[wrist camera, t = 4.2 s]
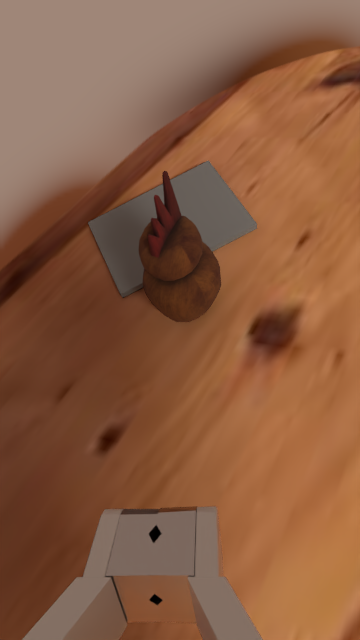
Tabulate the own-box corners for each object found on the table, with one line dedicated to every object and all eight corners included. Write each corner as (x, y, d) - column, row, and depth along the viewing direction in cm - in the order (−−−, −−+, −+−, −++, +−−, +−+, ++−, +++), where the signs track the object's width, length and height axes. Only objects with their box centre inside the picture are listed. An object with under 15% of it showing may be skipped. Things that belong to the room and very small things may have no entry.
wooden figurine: (194, 263, 36) (160, 141, 22) (234, 295, 34) (223, 181, 20) (147, 306, 35) (82, 206, 21) (185, 342, 33) (139, 256, 19)
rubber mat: (256, 228, 36) (256, 223, 35) (123, 297, 36) (120, 294, 35) (209, 165, 41) (208, 160, 40) (90, 226, 41) (87, 222, 40)
